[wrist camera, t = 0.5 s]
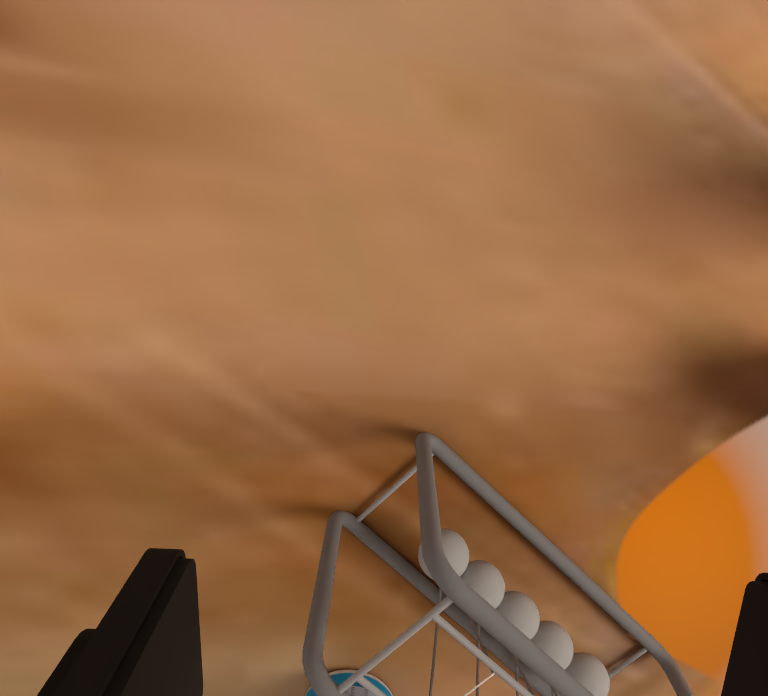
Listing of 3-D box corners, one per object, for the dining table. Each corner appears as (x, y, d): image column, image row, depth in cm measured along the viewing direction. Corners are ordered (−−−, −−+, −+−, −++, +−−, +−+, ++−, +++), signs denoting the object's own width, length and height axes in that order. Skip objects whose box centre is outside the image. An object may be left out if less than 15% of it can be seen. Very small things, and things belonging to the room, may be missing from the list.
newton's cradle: (671, 652, 54) (798, 881, 37) (576, 720, 56) (654, 966, 39) (421, 419, 48) (434, 563, 31) (327, 506, 50) (292, 684, 33)
